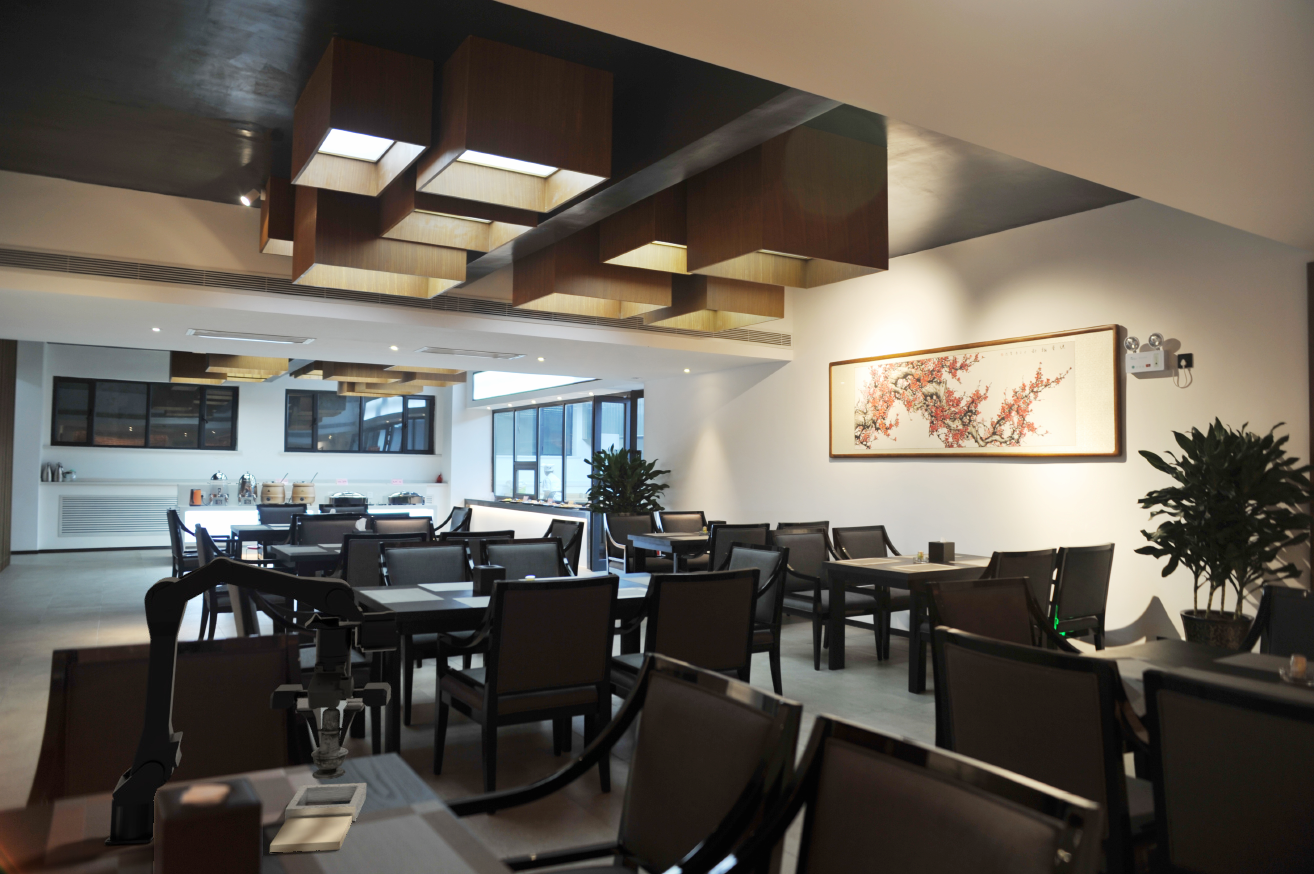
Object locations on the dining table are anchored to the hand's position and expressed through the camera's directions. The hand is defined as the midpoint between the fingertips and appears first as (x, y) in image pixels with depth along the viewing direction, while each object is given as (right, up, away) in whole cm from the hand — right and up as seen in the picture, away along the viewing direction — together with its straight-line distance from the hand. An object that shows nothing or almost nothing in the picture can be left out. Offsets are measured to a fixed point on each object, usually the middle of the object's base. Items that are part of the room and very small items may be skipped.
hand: (330, 746), depth 145 cm
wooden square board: (+2, -10, -11) cm, 15 cm away
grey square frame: (0, -11, -1) cm, 11 cm away
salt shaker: (0, -5, 0) cm, 5 cm away
